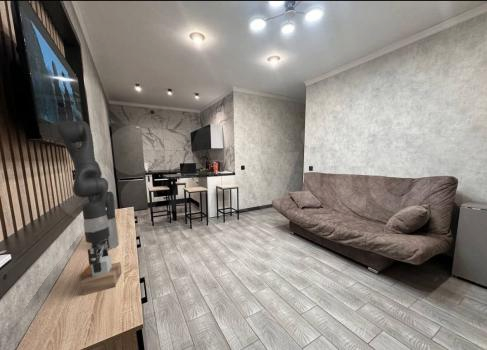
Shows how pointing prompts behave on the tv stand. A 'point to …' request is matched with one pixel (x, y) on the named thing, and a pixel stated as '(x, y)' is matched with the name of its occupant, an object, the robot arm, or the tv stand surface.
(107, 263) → the grey cube
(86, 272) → the pastry
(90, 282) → the tan square block
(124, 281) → the tv stand surface
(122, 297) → the tv stand surface
